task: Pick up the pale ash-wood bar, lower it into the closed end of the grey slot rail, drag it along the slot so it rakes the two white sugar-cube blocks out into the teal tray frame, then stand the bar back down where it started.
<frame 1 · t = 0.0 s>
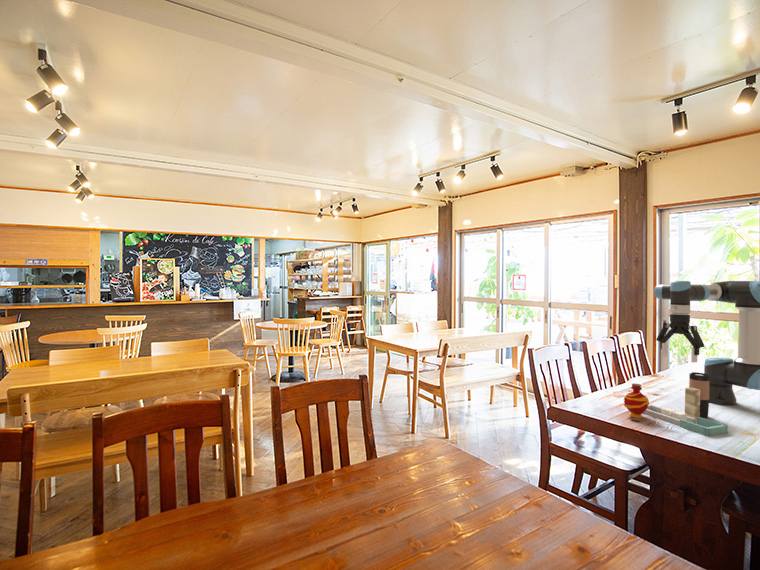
hand: (678, 359, 187), 28 cm above the table, fingers open, 13 cm apart
cube1: (668, 417, 189), on the table
tray: (703, 429, 174), on the table
travel mug: (698, 415, 192), on the table
potion bottle: (636, 416, 191), on the table
slot rail: (666, 416, 190), on the table
rake bar: (692, 418, 188), on the table
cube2: (679, 421, 184), on the table
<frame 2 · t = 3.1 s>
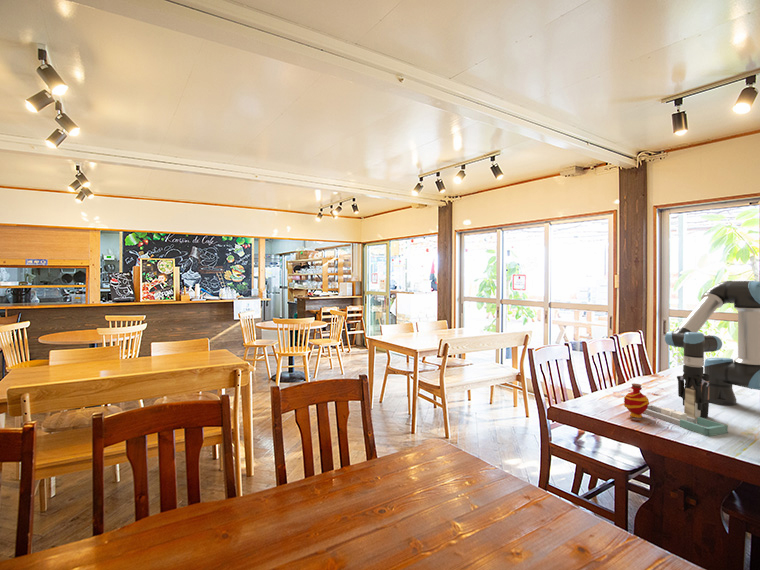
hand: (692, 414, 188), 2 cm above the table, fingers closed on rake bar, 4 cm apart
rake bar: (692, 418, 188), on the table, touching gripper
everything else where it was.
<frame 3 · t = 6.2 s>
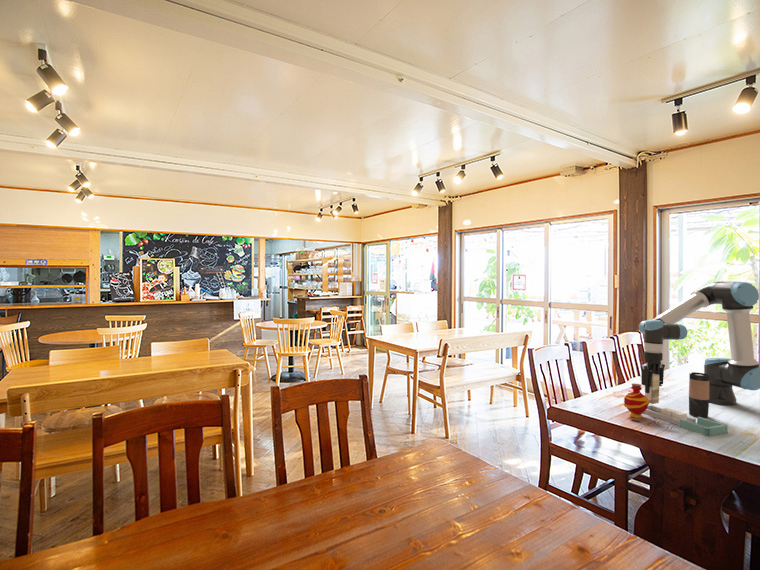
hand: (651, 399, 196), 7 cm above the table, fingers closed on rake bar, 4 cm apart
rake bar: (651, 402, 196), point 5 cm above the table, touching gripper
everything else where it was.
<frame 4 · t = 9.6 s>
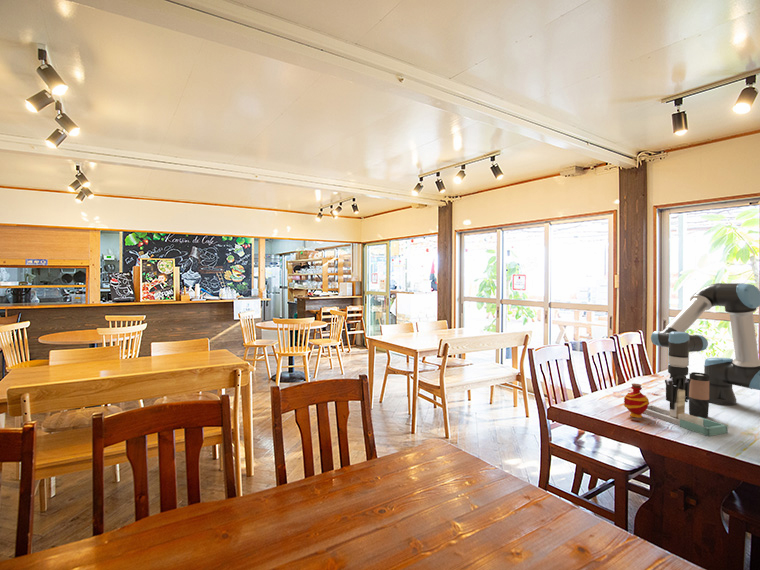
hand: (677, 415, 185), 2 cm above the table, fingers closed on rake bar, 4 cm apart
cube1: (685, 423, 181), on the table, touching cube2, rake bar
rake bar: (676, 419, 185), point 1 cm above the table, touching cube1, gripper
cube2: (695, 426, 177), on the table, touching cube1
everything else where it was.
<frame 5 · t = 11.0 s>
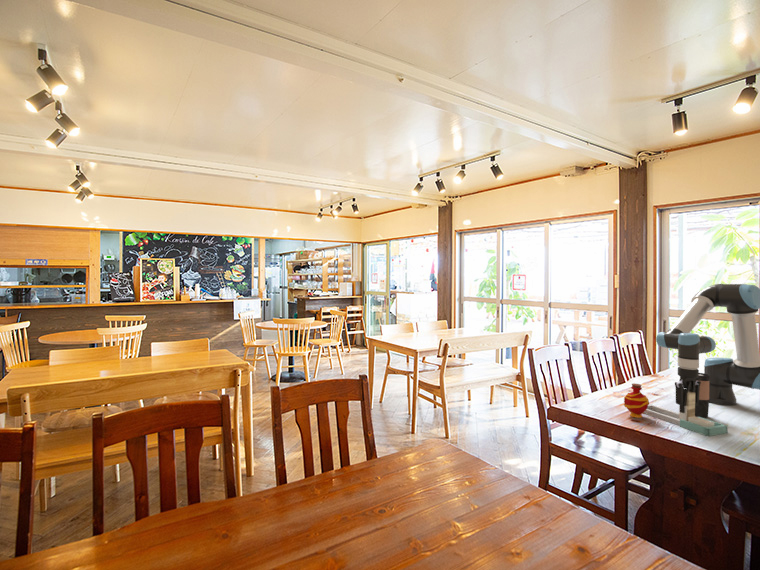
hand: (687, 419, 181), 2 cm above the table, fingers closed on rake bar, 4 cm apart
cube1: (696, 427, 177), on the table, touching rake bar
rake bar: (686, 422, 181), point 1 cm above the table, touching cube1, gripper
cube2: (705, 430, 173), on the table
everything else where it was.
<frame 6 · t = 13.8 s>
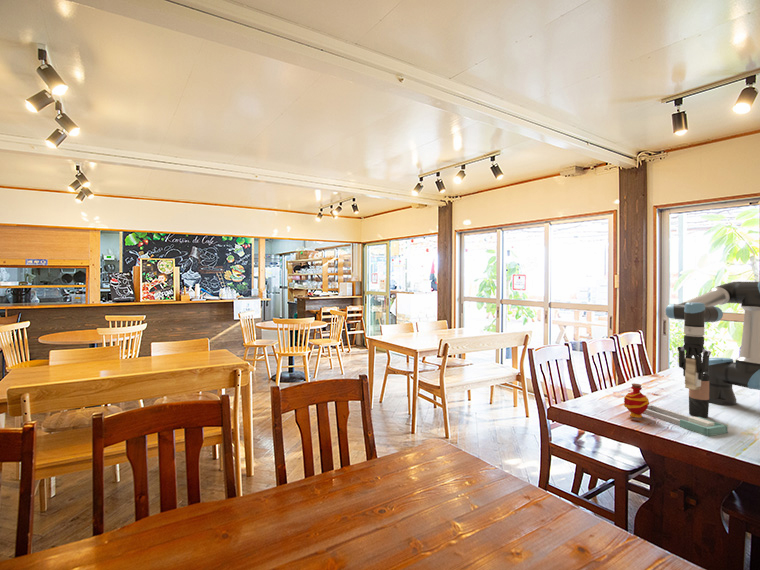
hand: (692, 384, 188), 16 cm above the table, fingers closed on rake bar, 4 cm apart
cube1: (696, 427, 177), on the table
rake bar: (692, 388, 188), point 14 cm above the table, touching gripper
everything else where it was.
when the fingers open (3 cm above the table, at t = 16.3 s): rake bar stays where it is, on the table.
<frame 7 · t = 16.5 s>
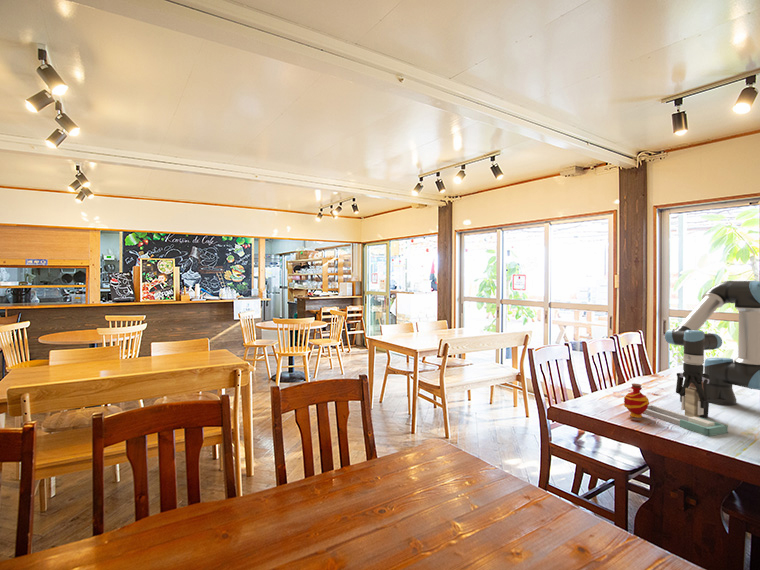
hand: (692, 412, 188), 3 cm above the table, fingers open, 7 cm apart
rake bar: (692, 418, 188), on the table
everything else where it was.
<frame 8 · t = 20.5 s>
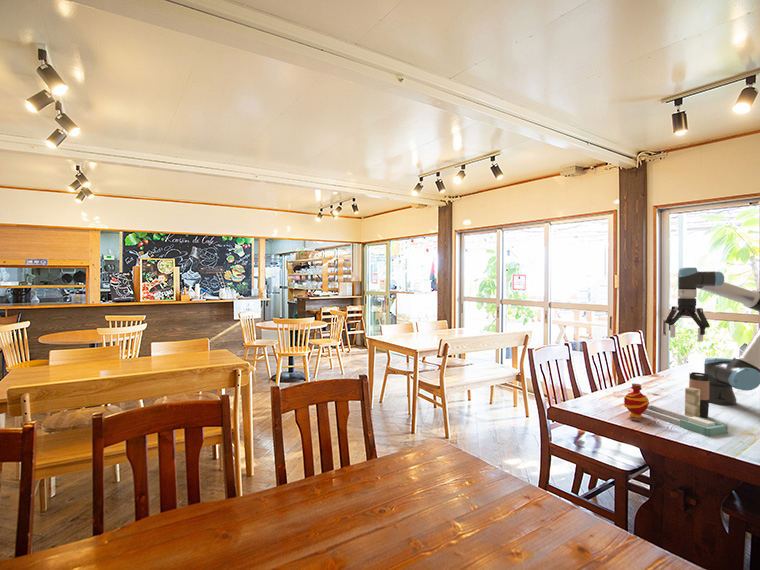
hand: (686, 339, 204), 35 cm above the table, fingers open, 13 cm apart
nothing on the table moved.
at the end: cube1 inside the target area (2.4 cm from its centre), on the table; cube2 inside the target area (1.6 cm from its centre), on the table; rake bar tilted 0° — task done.
